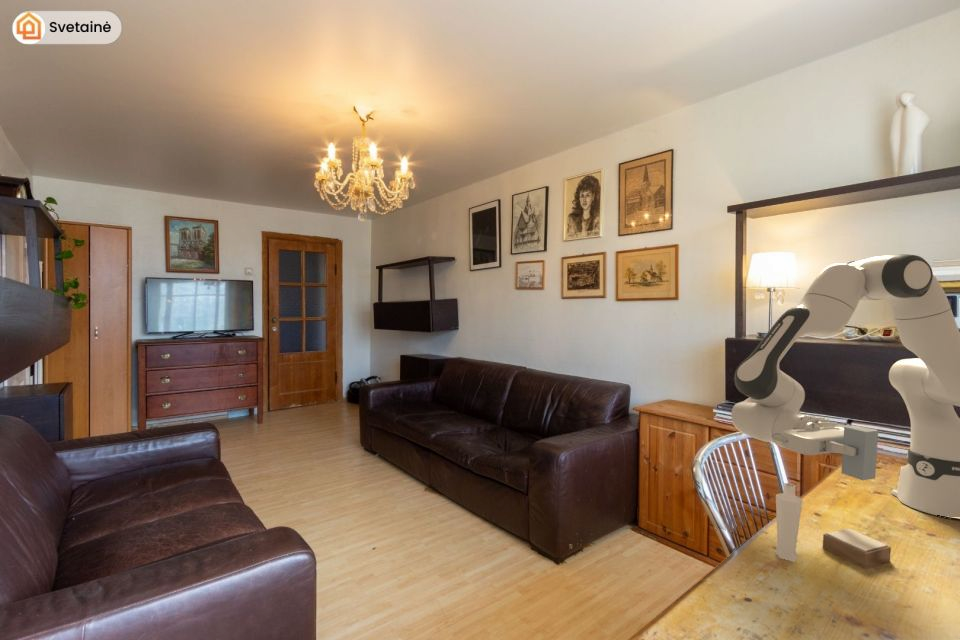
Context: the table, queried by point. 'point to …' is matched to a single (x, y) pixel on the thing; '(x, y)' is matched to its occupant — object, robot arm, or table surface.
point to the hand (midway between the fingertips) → (864, 451)
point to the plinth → (857, 547)
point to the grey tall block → (860, 452)
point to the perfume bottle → (787, 522)
